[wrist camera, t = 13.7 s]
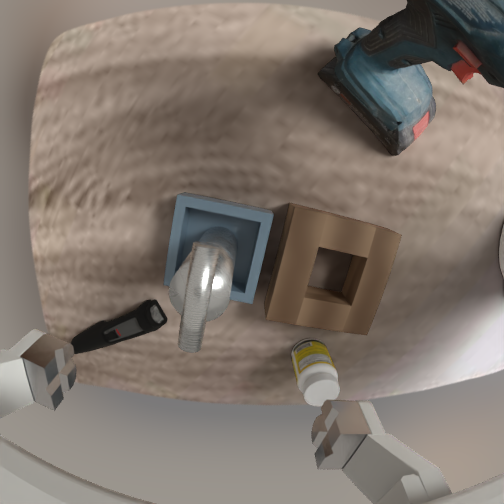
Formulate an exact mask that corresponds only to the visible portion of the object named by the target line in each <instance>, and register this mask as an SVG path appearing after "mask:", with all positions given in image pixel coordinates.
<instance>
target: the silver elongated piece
mask: <svg viewBox="0 0 504 504" xmlns="http://www.w3.org/2000/svg"><path fill="white" fill-rule="evenodd" d="M236 251H237V239H236V237H235V235H234V234H233V233H232V232H231V231H230V230H229V229H227V228H225V227H220V226H217V227H212V228H210V229H208V230H207V231H206V232H205V233H204V234H203V236H202V237H201V238H200V240H199V241H196V242H193V246H192V251H191V252H190V254H189V255H188V257H187V258H186V259H185V261H184V262H183V264H182V265H181V266H180V268H179V269H178V271H177V272H176V274H175V275H174V276H173V278H172V280H171V282H170V286H169V297H170V300H171V303H172V305H173V307H174V308H175V309H176V311H177V312H178V313H179V314H181V315H182V316H181V324H180V331H179V339H178V346H179V348H180V349H182V350H183V351H186V352H191V353H193V352H198V351H200V350H201V347H202V341H203V336H204V330H205V324H206V322H207V321H211V320H214V319H216V318H218V317H219V316H220V315H221V314H223V312H224V311H225V310H226V308H227V306H228V304H229V300H230V293H231V286H232V279H233V272H234V265H235V258H236Z"/></svg>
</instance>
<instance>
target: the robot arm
mask: <svg viewBox="0 0 504 504" xmlns="http://www.w3.org/2000/svg"><path fill="white" fill-rule="evenodd" d="M499 262H500V268H501V272H502V275H503V278H504V226H503V229H502V234H501V239H500V246H499ZM73 355H74V349H73V345H72V344H70V343H68V342H66V341H64V340H61V339H59V338H57V337H54V336H52V335H50V334H47V333H44V332H42V331H40V330H38V329H33V330H32V331H30V332H29V333H28V334H27V335H26V336H25V337H23V338H22V339H21V340H20V341H19V342H17V343H16V344H15V345H14V346H13V347H12V348H10V349H9V350H8V351H7V350H5V349H3V350H0V418H2V417H4V416H6V415H8V414H10V413H12V412H15V411H17V410H19V409H21V408H23V407H26V406H28V405H30V404H32V403H34V401H35V402H37V403H39V404H41V405H43V406H45V407H48V408H50V409H52V410H54V411H55V410H56V408H57V407H58V405H59V404H60V403H61V401H62V400H63V398H64V397H63V392H66V391H69V390H70V389H71V388H72V386H73V384H74V382H75V379H76V365H75V363H74V362H73V360H72V359H71V358H72V357H73ZM321 410H322V414H321V415H320V416H318V417H317V418H316V420H315V421H314V424H313V427H312V442H313V445H315V446H316V447H317V448H318V449H317V451H316V452H315V458H316V463H317V468H318V469H343V470H342V471H343V472H344V473H345V474H346V476H347V477H348V478H349V479H350V480H351V481H352V482H353V483H354V484H355V485H356V486H357V487H358V489H359V490H360V491H361V492H362V493H363V494H364V495H365V496H366V497H367V498H368V499H369V500H370V501H371V502H372V503H373V504H504V473H502V474H500V475H498V476H495V477H493V478H491V479H489V480H487V481H484V482H482V483H480V484H477V485H475V486H472V487H470V488H467V489H464V490H462V491H459V492H456V493H453V494H452V492H451V490H450V488H449V486H448V484H447V482H446V480H445V478H444V476H443V474H442V472H441V470H440V469H439V468H438V467H437V466H435V465H434V464H433V463H431V462H430V461H428V460H427V459H425V458H424V457H422V456H421V455H419V454H418V453H417V452H415V451H414V450H412V449H411V448H409V447H408V446H406V445H405V444H404V443H402V442H401V441H399V440H398V439H396V438H395V437H394V436H392V435H391V434H386V433H385V431H384V428H383V426H382V424H381V422H380V420H379V418H378V415H377V413H376V411H375V409H374V407H373V405H372V403H371V402H370V401H346V400H328V399H327V400H326V401H325V402H324V403H323V405H322V407H321ZM0 504H155V503H152V502H148V501H144V500H141V499H137V498H134V497H131V496H128V495H125V494H122V493H119V492H116V491H113V490H110V489H107V488H104V487H102V486H99V485H97V484H94V483H92V482H89V481H87V480H84V479H82V478H80V477H77V476H75V475H73V474H70V473H68V472H66V471H64V470H62V469H60V468H58V467H56V466H53V465H52V464H50V463H48V462H46V461H44V460H42V459H40V458H38V457H37V456H35V455H33V454H31V453H30V452H28V451H26V450H24V449H23V448H21V447H19V446H17V445H16V444H14V443H13V442H11V441H9V440H8V439H6V438H5V437H4V436H2V435H0Z"/></svg>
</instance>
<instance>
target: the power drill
mask: <svg viewBox="0 0 504 504" xmlns="http://www.w3.org/2000/svg"><path fill="white" fill-rule="evenodd" d="M334 51H335V54H336V57H335V58H334V59H332V60H331V61H330V62H329V63H328V64H327V65H326V66H324V67H323V68H322V69H321V71H320V72H319V73H318V75H319V77H320V78H321V79H322V80H323V81H324V82H326V84H327V85H328V86H329V87H330V88H331V89H332V90H333V91H334V92H335V93H336V94H337V95H338V96H339V97H340V98H341V99H342V100H343V101H344V102H345V103H346V104H347V105H348V106H349V107H350V108H351V109H352V110H353V111H354V112H355V113H356V114H357V116H358V117H359V118H360V119H361V120H362V121H363V122H364V123H365V124H366V125H367V126H368V127H369V129H370V130H371V131H372V132H373V133H374V134H375V135H376V136H377V138H378V139H379V140H380V141H381V142H382V144H383V145H384V146H385V147H386V148H387V150H388V151H389V153H390V154H392V155H395V156H396V155H399V154H400V153H401V152H402V151H403V150H405V149H406V148H407V147H408V146H409V145H410V144H411V143H412V142H413V141H414V140H415V139H416V138H417V137H419V136H420V135H421V134H422V132H423V131H424V129H425V128H426V127H427V125H428V124H429V123H430V122H431V121H432V120H433V118H434V116H435V112H436V103H435V99H434V98H433V96H432V85H431V82H430V80H429V78H428V76H427V75H426V73H425V71H424V69H423V68H422V66H421V65H420V64H422V63H426V62H430V61H433V62H435V63H436V64H438V65H439V66H441V67H442V68H444V69H446V70H448V71H451V70H452V71H453V72H454V73H455V75H456V76H457V78H458V79H459V80H460V82H461V83H462V84H464V83H465V82H466V81H467V80H468V79H471V78H472V77H473V73H479V74H481V75H482V76H483V77H484V78H485V79H486V81H487V82H488V83H489V84H491V85H495V86H498V87H502V88H504V0H407V6H406V8H405V9H404V10H401V11H400V12H397V13H396V14H394V15H392V16H389V17H387V18H386V19H385V20H383V21H381V22H380V23H379V25H378V26H377V27H376V28H374V29H373V30H372V31H371V30H367V29H364V28H358V29H356V30H355V31H353V32H351V33H350V34H349V36H348V37H347V38H346V39H345V38H342V40H341V41H340V42H339V43H338V44H336V45H335V46H334Z"/></svg>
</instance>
